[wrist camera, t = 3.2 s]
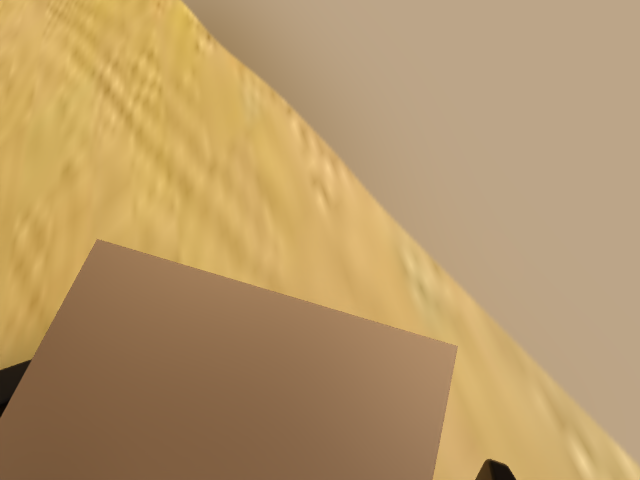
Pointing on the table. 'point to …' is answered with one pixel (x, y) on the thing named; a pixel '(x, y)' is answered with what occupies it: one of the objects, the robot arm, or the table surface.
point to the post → (219, 384)
